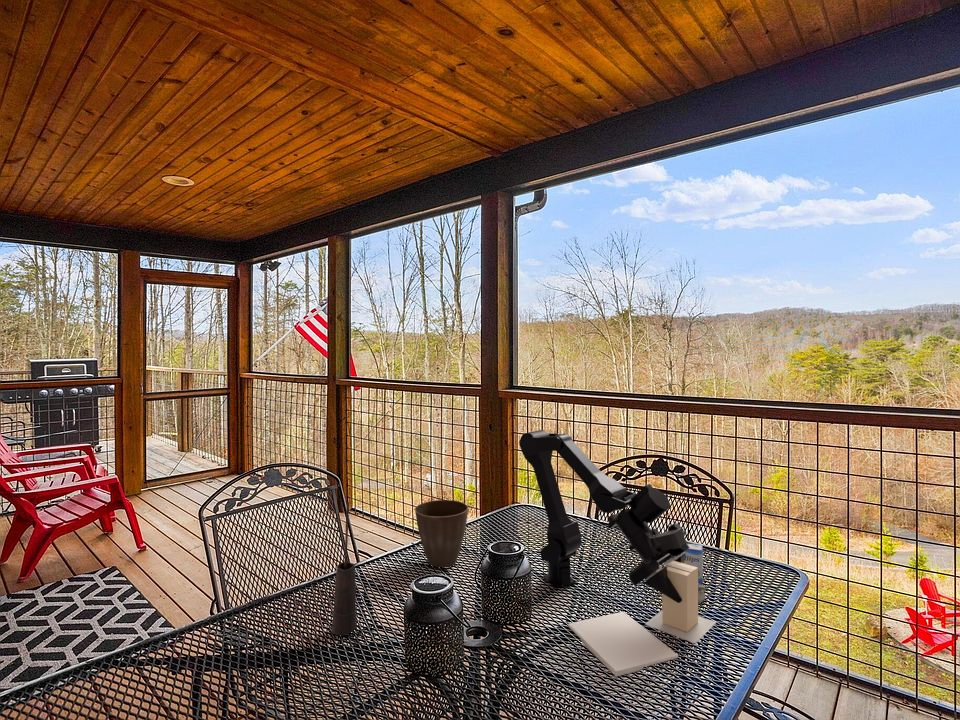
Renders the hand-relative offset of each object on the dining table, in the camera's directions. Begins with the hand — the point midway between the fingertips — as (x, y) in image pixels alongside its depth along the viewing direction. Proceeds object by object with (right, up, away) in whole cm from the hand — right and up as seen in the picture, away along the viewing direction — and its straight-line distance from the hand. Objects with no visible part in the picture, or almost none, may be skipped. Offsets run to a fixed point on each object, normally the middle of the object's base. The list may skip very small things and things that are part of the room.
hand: (686, 597), depth 115 cm
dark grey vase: (-74, -8, +1) cm, 74 cm away
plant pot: (-55, -7, +36) cm, 66 cm away
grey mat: (-1, -7, +1) cm, 7 cm away
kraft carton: (-1, -6, +1) cm, 6 cm away
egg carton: (+5, -7, +15) cm, 17 cm away
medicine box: (+9, -6, +24) cm, 26 cm away
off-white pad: (-16, -7, -5) cm, 18 cm away
